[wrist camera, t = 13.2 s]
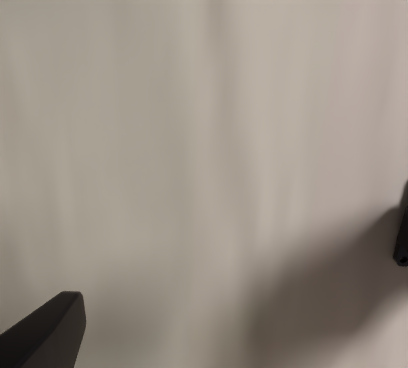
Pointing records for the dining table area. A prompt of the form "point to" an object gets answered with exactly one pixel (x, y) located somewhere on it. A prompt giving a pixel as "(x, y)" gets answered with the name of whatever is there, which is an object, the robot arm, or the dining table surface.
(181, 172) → the dining table surface
